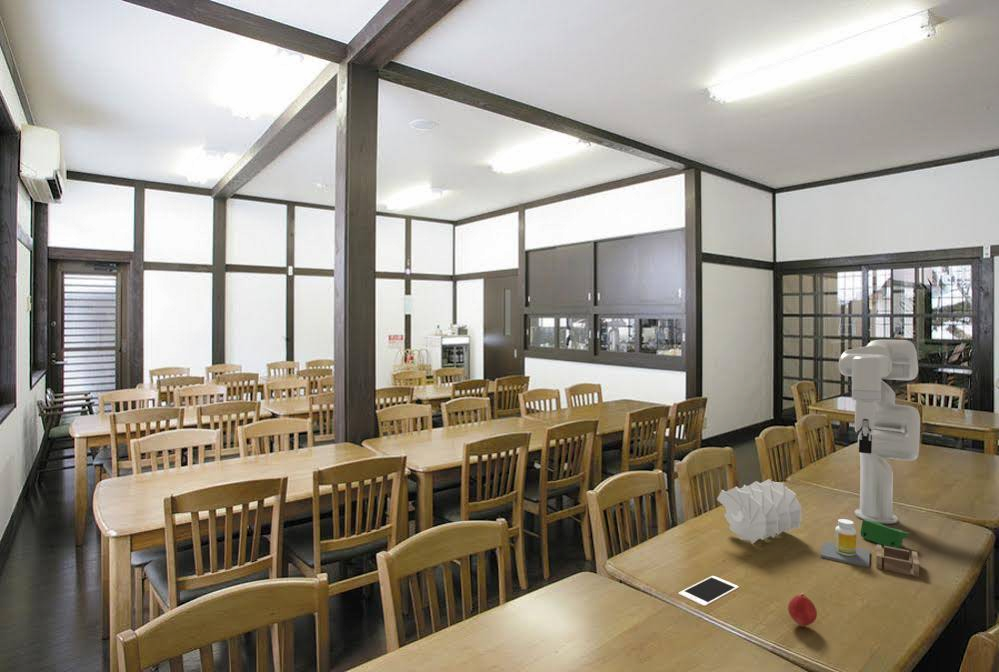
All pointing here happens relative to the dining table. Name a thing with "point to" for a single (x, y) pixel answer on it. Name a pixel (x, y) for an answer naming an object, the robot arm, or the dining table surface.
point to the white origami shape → (761, 510)
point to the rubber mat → (858, 559)
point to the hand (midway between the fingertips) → (865, 449)
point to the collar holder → (897, 560)
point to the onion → (802, 610)
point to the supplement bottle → (845, 538)
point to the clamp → (882, 534)
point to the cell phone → (708, 590)
